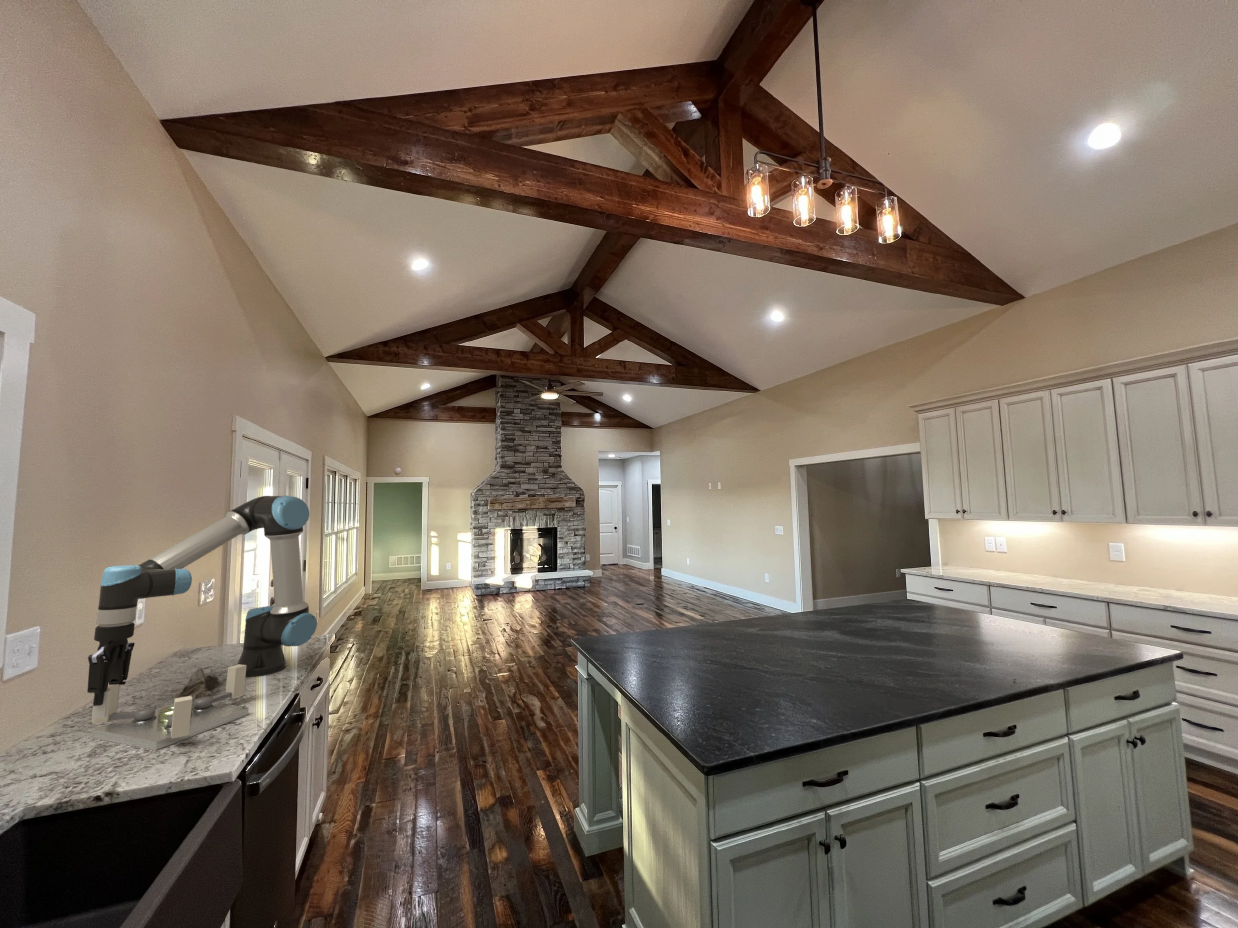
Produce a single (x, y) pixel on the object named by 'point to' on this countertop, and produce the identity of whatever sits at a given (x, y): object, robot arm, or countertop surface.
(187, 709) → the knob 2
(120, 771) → the countertop surface
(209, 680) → the rock
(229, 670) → the gray lever with block
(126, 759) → the countertop surface
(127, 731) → the level plate
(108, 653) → the robot arm
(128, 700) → the countertop surface
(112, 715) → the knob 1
